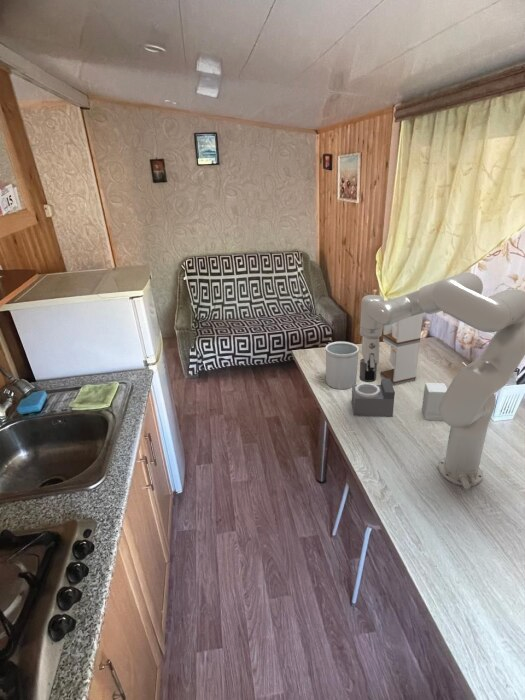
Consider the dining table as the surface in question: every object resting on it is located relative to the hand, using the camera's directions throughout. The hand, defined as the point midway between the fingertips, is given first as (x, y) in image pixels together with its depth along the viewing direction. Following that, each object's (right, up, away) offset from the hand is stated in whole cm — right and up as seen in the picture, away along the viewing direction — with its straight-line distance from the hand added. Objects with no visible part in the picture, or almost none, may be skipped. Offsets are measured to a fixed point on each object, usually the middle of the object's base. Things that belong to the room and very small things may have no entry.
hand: (368, 374), depth 144 cm
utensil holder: (-3, -6, +36) cm, 37 cm away
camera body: (+5, -15, +15) cm, 22 cm away
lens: (0, -1, +1) cm, 1 cm away
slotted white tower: (+24, -4, +36) cm, 43 cm away
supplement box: (+28, -17, +8) cm, 33 cm away
